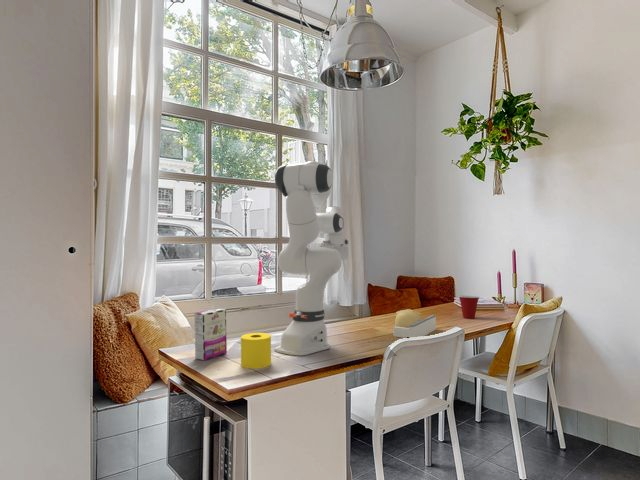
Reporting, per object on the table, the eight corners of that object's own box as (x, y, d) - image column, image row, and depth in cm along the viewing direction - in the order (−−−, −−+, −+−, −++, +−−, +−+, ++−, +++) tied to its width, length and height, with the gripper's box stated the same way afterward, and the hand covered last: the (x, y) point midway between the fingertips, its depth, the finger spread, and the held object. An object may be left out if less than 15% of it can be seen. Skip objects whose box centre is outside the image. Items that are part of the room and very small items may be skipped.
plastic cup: (481, 317, 224) (481, 295, 224) (477, 320, 215) (477, 297, 215) (461, 315, 230) (461, 293, 230) (456, 318, 221) (456, 295, 221)
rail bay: (413, 341, 171) (413, 325, 171) (388, 338, 177) (388, 322, 177) (435, 329, 194) (435, 315, 194) (413, 326, 200) (413, 312, 200)
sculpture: (422, 331, 190) (422, 307, 190) (419, 337, 179) (419, 312, 179) (397, 329, 194) (397, 306, 194) (393, 335, 182) (393, 310, 182)
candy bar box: (217, 351, 156) (217, 308, 156) (227, 353, 154) (227, 309, 154) (194, 358, 147) (193, 312, 147) (203, 361, 144) (203, 313, 144)
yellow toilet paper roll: (236, 362, 142) (236, 335, 142) (262, 358, 148) (262, 331, 148) (248, 370, 134) (248, 341, 134) (276, 365, 140) (276, 337, 140)
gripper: (327, 240, 189) (327, 271, 189) (350, 241, 206) (350, 269, 206) (316, 240, 193) (315, 270, 193) (339, 241, 210) (339, 268, 209)
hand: (333, 269), depth 199 cm, fingers closed
